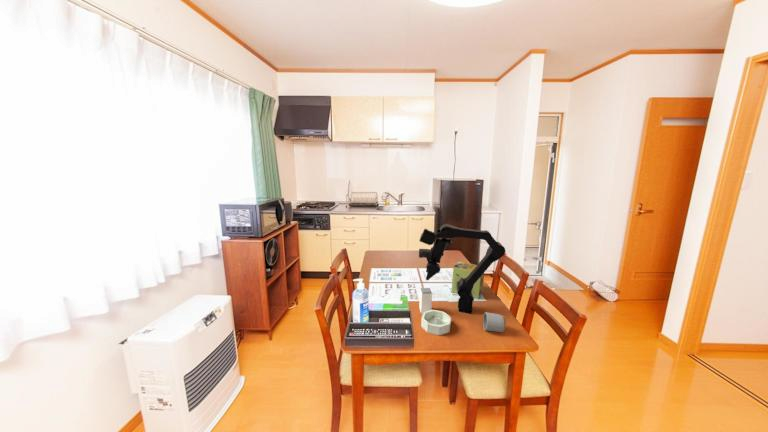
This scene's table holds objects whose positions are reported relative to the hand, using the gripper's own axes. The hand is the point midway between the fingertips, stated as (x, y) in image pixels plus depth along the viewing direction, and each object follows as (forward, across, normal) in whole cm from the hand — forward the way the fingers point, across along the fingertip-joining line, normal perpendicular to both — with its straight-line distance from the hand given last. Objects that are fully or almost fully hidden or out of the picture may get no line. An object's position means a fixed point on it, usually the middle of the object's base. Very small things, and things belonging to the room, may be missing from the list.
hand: (426, 275), depth 133 cm
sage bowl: (+14, +16, +10) cm, 24 cm away
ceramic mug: (+6, +14, +33) cm, 37 cm away
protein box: (+8, -20, +28) cm, 35 cm away
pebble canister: (+16, +4, +5) cm, 17 cm away
